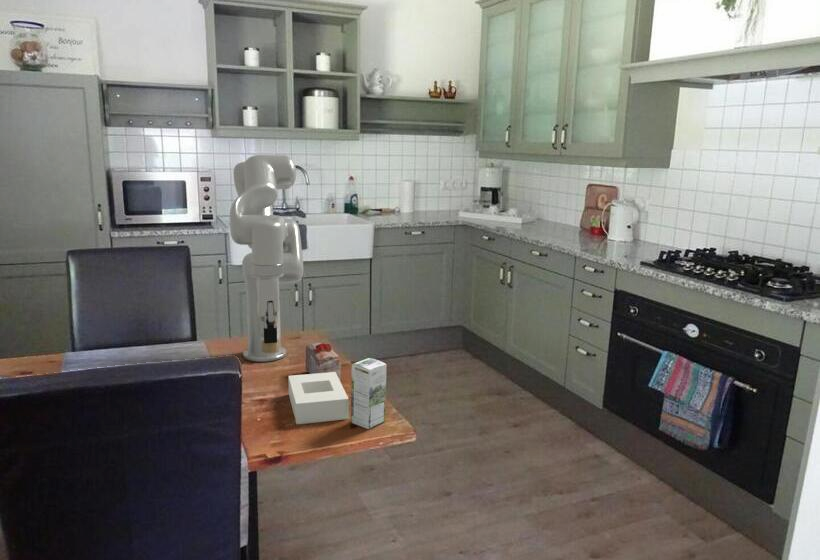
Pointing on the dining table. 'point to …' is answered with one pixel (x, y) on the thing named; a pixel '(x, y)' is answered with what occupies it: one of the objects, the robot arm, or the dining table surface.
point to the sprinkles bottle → (269, 347)
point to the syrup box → (368, 393)
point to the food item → (322, 359)
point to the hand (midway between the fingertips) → (269, 338)
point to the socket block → (318, 398)
